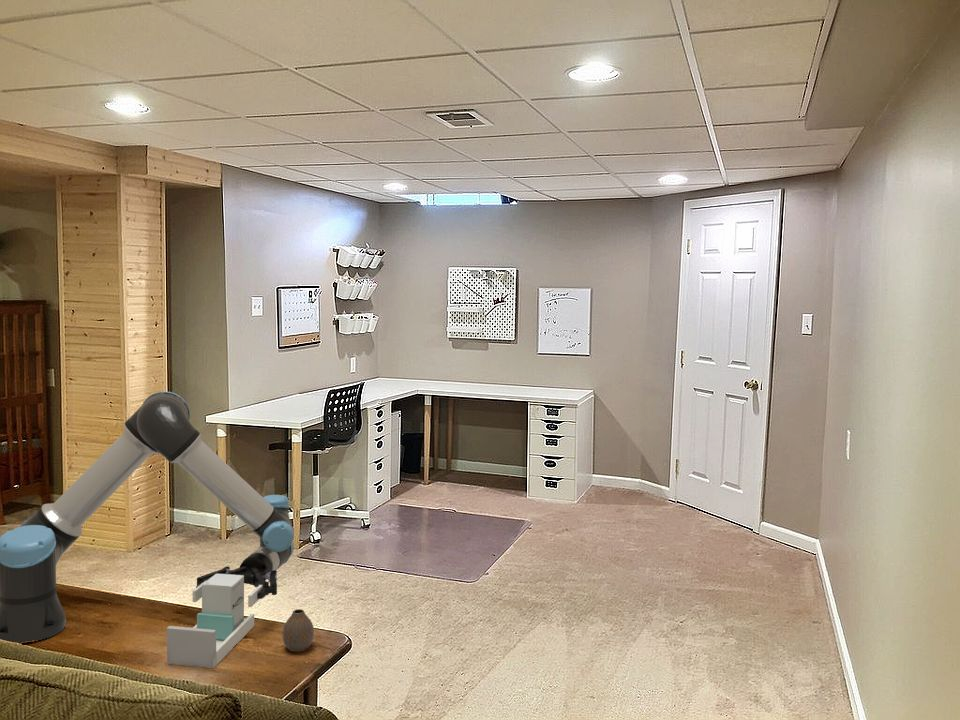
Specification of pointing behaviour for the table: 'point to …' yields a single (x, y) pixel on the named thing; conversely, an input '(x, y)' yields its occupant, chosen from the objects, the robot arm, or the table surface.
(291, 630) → the vase
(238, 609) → the supplement box
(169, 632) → the tray
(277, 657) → the table surface
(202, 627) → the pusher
